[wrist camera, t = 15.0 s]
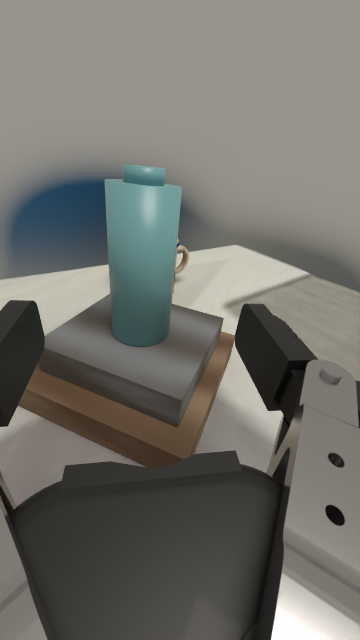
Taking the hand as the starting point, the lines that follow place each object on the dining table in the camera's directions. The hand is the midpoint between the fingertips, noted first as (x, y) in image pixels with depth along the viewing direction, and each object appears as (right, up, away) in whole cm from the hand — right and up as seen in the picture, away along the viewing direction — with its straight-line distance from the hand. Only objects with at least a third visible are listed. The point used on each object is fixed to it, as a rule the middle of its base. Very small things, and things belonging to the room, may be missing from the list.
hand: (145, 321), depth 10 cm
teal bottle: (-2, -1, +13) cm, 14 cm away
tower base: (-3, -6, +17) cm, 18 cm away
